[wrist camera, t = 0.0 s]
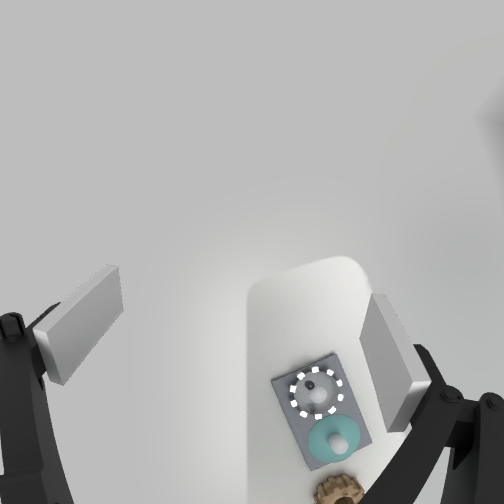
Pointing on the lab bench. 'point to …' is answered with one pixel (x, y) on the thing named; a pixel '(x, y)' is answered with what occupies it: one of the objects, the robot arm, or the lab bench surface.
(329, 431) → the gear board
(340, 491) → the oak gear
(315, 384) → the gear
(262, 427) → the lab bench surface
